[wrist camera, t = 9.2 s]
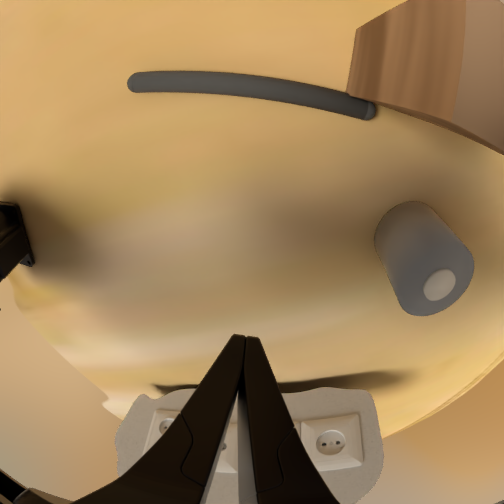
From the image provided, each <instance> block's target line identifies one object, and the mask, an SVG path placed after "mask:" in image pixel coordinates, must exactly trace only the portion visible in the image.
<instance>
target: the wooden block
mask: <svg viewBox="0 0 504 504" xmlns="http://www.w3.org/2000/svg"><path fill="white" fill-rule="evenodd" d="M346 93H348V94H349V95H350V96H353V97H357V98H360V99H364V100H367V101H370V102H373V103H375V104H378V105H382V106H385V107H388V108H391V109H393V110H396V111H399V112H402V113H405V114H407V115H410V116H413V117H416V118H419V119H422V120H424V121H427V122H430V123H433V124H435V125H438V126H441V127H443V128H446V129H448V130H451V131H453V132H456V133H458V134H460V135H463V136H465V137H467V138H469V139H472V140H474V141H476V142H478V143H480V144H482V145H484V146H486V147H488V148H490V149H492V150H494V151H496V152H498V153H500V154H502V155H504V4H503V3H502V2H501V1H500V0H408V1H406V2H404V3H402V4H400V5H398V6H396V7H394V8H392V9H391V10H389V11H387V12H385V13H383V14H381V15H380V16H378V17H376V18H375V19H373V20H371V21H369V22H368V23H366V24H364V25H363V26H361V27H359V28H358V29H356V36H355V42H354V49H353V55H352V61H351V67H350V73H349V78H348V84H347V89H346Z"/></svg>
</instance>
